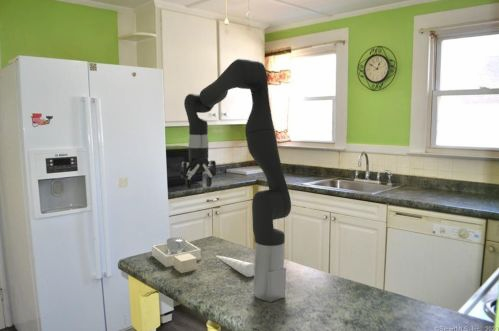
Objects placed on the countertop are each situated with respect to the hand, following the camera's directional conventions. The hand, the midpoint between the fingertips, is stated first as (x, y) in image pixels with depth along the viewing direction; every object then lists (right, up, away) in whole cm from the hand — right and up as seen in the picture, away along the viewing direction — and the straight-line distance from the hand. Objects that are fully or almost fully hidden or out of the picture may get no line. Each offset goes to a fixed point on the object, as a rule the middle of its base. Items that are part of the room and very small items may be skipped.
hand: (198, 187), depth 152 cm
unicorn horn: (+14, -29, -9) cm, 33 cm away
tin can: (-9, -27, -1) cm, 28 cm away
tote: (-9, -28, -1) cm, 29 cm away
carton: (-3, -29, -12) cm, 32 cm away
